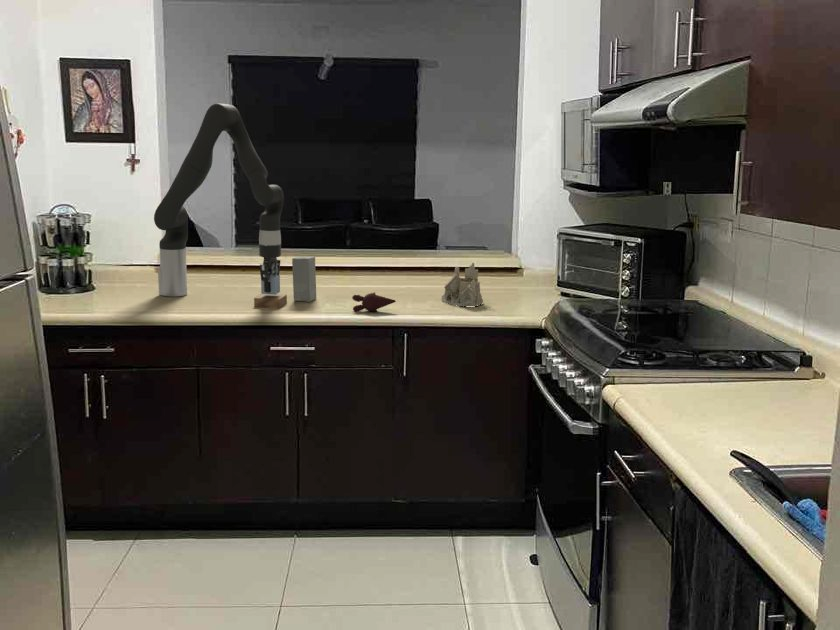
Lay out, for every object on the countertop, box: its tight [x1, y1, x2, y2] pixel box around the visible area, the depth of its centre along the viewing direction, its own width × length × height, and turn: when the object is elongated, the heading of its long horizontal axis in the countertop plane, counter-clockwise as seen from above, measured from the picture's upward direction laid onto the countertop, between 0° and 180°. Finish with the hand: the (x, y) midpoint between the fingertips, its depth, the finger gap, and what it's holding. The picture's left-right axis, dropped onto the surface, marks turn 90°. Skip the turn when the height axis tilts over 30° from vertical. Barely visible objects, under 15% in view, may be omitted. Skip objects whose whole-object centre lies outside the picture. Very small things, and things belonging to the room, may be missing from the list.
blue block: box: [260, 274, 281, 295], centre depth 306 cm, size 5×5×6 cm
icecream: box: [351, 292, 396, 313], centre depth 300 cm, size 7×7×15 cm
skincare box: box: [291, 255, 317, 303], centre depth 316 cm, size 8×7×16 cm
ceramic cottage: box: [441, 262, 484, 307], centre depth 318 cm, size 16×16×15 cm
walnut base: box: [253, 293, 288, 309], centre depth 307 cm, size 9×9×4 cm
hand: (270, 290), depth 306 cm, fingers closed on blue block, 5 cm apart
